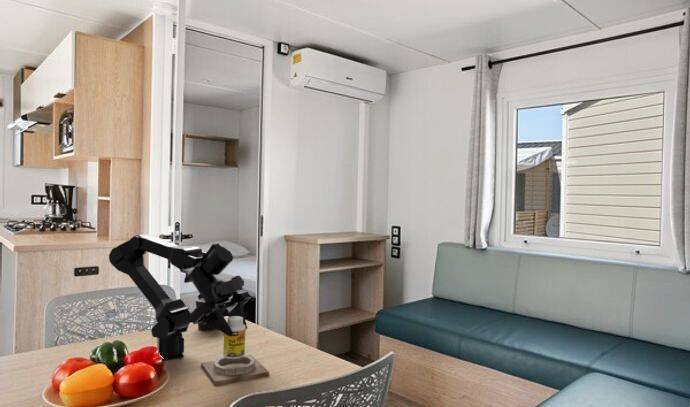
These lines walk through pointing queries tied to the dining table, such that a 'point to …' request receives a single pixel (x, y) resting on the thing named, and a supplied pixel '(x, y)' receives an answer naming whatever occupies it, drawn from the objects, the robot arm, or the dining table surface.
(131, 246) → the robot arm
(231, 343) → the supplement bottle
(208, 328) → the coffee mug
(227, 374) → the ring stand
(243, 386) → the dining table surface
